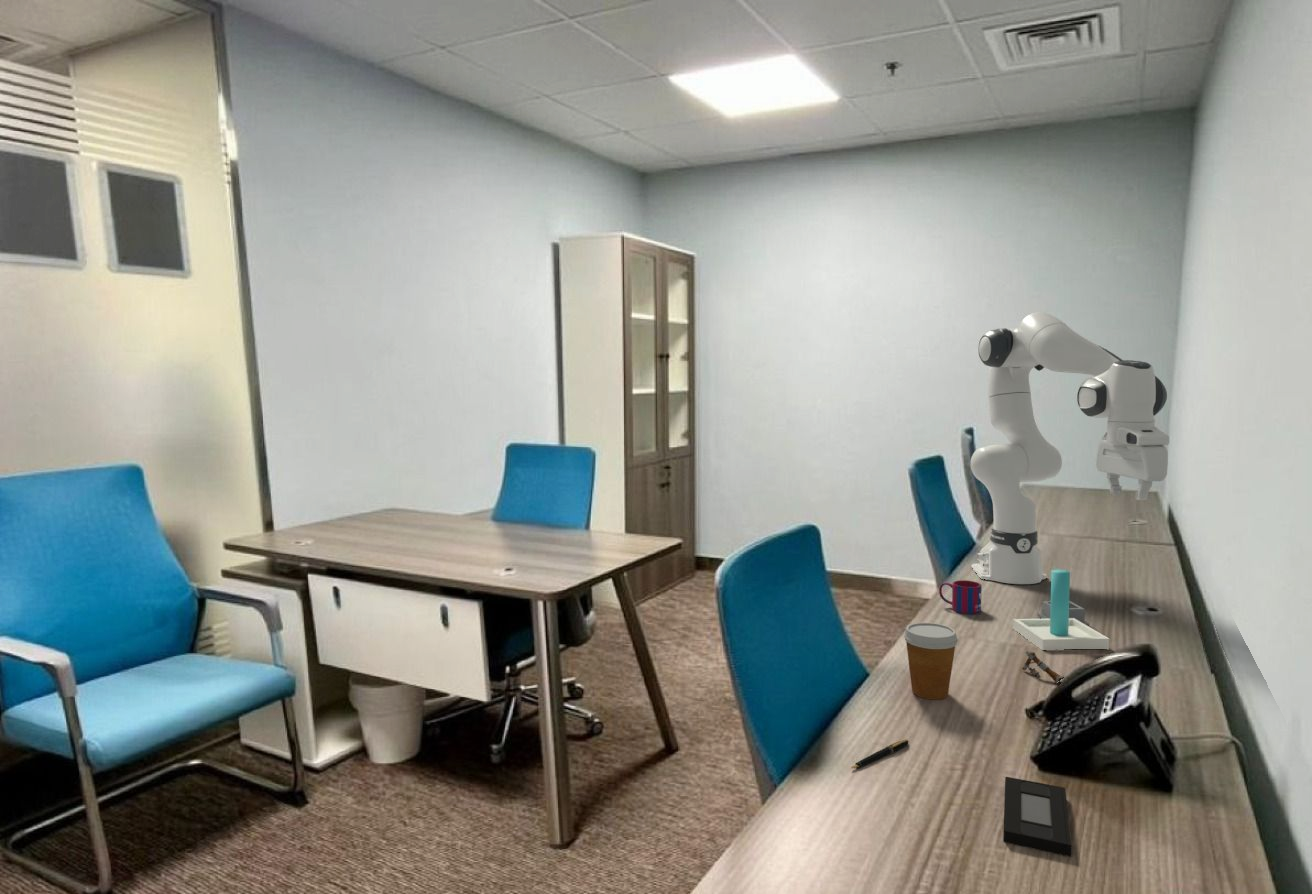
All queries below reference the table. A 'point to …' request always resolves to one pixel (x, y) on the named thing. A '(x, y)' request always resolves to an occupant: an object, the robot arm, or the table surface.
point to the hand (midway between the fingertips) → (1128, 496)
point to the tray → (1076, 639)
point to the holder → (1074, 611)
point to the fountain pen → (882, 753)
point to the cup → (964, 596)
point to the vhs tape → (1036, 816)
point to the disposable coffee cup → (930, 658)
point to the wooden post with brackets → (1041, 665)
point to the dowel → (1059, 602)
